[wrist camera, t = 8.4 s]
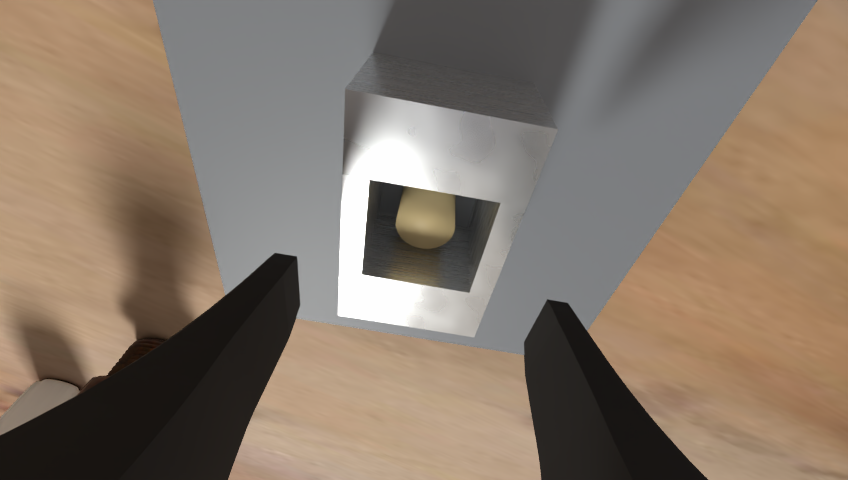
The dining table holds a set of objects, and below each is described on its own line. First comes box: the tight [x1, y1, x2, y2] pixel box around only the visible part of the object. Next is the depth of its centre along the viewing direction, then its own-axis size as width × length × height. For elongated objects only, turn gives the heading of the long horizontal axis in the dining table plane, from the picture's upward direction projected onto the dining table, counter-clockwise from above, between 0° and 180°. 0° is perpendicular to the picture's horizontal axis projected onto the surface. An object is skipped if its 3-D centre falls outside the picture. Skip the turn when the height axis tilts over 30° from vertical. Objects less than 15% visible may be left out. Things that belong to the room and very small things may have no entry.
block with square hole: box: [338, 52, 558, 337], centre depth 14 cm, size 6×9×4 cm, turn 171°
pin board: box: [153, 0, 817, 355], centre depth 16 cm, size 20×20×4 cm
